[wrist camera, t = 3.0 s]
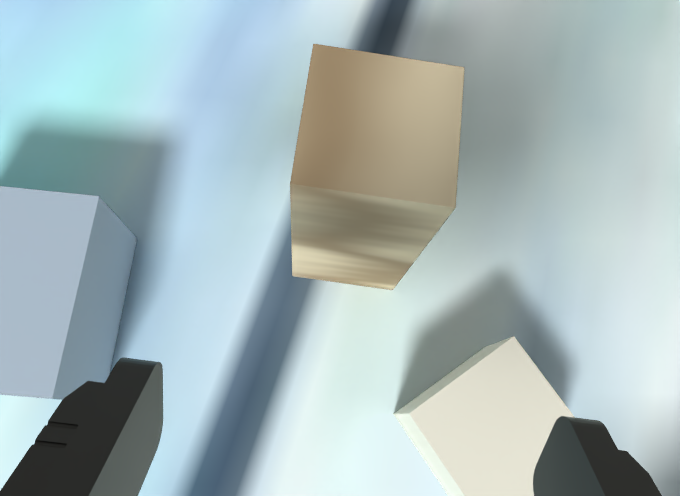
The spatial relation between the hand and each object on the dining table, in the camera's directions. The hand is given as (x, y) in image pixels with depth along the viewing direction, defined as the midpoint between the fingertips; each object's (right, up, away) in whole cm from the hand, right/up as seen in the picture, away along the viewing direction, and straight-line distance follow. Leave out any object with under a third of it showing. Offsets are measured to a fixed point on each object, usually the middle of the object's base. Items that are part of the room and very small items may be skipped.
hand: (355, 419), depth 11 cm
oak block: (0, +4, +14) cm, 14 cm away
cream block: (+5, -4, +12) cm, 14 cm away
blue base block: (-13, +1, +12) cm, 18 cm away
